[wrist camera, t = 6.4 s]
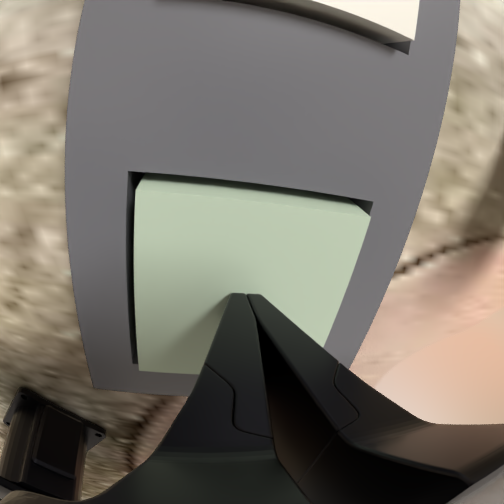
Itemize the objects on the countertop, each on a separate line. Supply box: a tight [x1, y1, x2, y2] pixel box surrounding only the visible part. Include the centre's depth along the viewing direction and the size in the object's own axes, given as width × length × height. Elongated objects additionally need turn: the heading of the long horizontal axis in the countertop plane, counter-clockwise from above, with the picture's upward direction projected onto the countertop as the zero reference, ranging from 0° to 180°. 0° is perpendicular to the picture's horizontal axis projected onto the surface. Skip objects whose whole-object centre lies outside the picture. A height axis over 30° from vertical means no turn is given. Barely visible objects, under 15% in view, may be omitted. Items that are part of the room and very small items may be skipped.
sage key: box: [134, 172, 371, 374], centre depth 10 cm, size 6×6×3 cm
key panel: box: [65, 0, 460, 396], centre depth 9 cm, size 21×10×4 cm, turn 170°
